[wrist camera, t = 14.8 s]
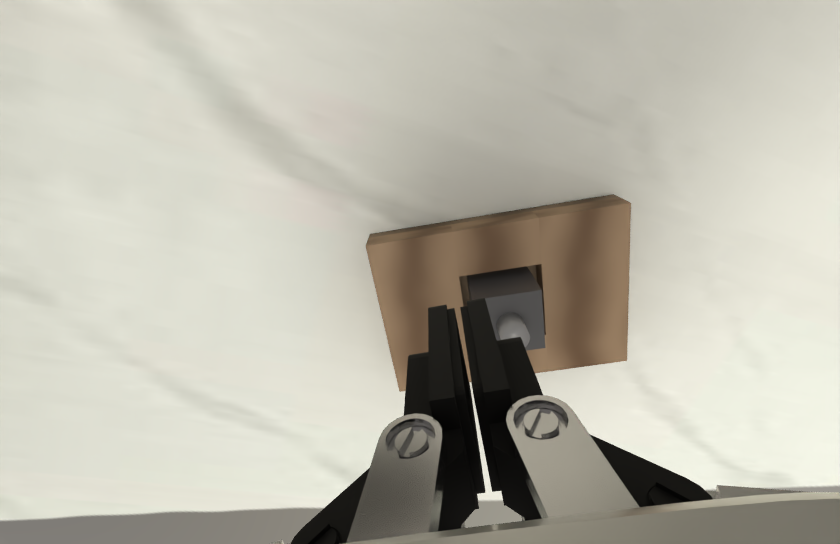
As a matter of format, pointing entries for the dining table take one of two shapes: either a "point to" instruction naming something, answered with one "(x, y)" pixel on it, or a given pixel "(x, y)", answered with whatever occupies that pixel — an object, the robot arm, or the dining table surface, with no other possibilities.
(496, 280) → the plug
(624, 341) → the socket board
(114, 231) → the dining table surface
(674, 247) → the dining table surface
